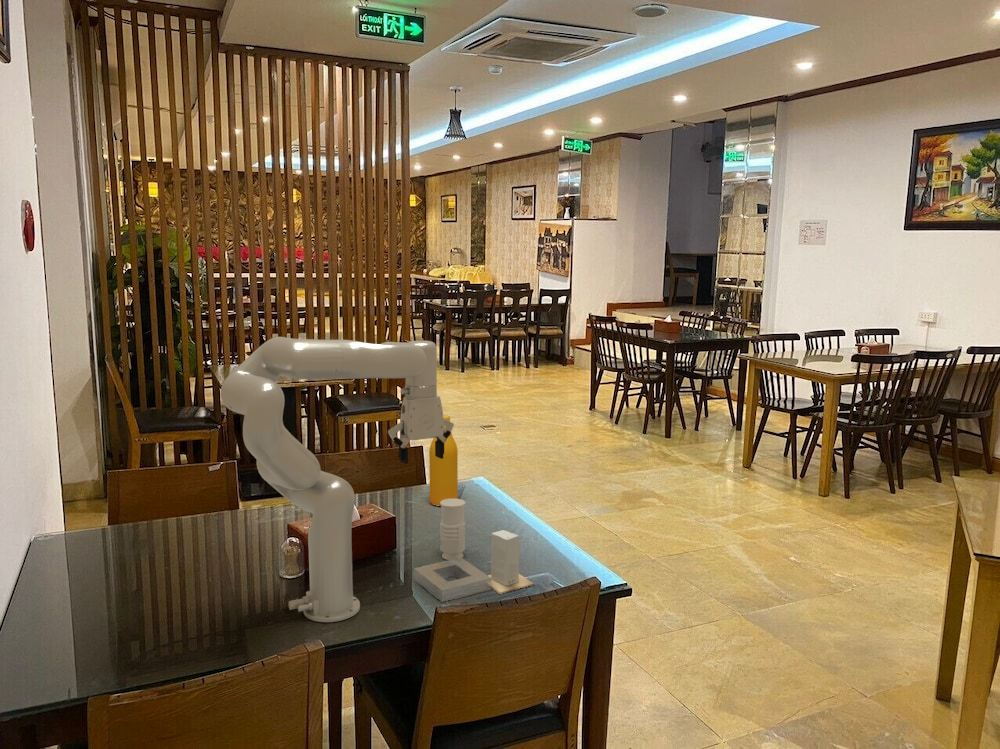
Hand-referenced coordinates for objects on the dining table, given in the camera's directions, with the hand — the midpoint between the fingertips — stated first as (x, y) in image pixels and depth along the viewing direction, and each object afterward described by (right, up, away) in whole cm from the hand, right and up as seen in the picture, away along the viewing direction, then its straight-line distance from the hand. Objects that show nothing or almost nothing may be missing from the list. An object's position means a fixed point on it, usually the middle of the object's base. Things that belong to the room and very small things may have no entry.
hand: (421, 460), depth 188 cm
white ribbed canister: (+7, -28, +18) cm, 34 cm away
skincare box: (+20, -30, +1) cm, 37 cm away
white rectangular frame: (+7, -31, 0) cm, 32 cm away
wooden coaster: (+21, -31, +1) cm, 37 cm away
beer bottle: (+1, -21, +62) cm, 66 cm away
